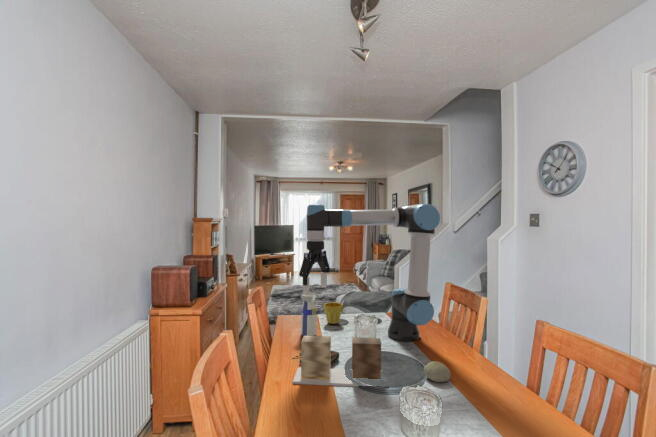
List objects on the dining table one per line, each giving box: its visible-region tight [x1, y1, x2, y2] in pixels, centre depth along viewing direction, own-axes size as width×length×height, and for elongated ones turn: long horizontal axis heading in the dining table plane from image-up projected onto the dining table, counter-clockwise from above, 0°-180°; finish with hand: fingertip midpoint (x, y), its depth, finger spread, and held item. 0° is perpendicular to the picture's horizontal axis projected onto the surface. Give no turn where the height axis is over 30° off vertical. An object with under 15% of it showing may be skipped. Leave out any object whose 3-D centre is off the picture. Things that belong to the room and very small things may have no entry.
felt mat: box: [292, 366, 359, 387], centre depth 119 cm, size 33×11×1 cm, turn 85°
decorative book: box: [291, 350, 340, 366], centre depth 134 cm, size 13×18×5 cm
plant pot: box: [323, 301, 344, 325], centre depth 185 cm, size 10×10×10 cm
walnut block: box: [351, 336, 382, 379], centre depth 119 cm, size 10×6×13 cm, turn 85°
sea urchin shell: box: [423, 360, 452, 383], centre depth 119 cm, size 9×8×8 cm
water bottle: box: [300, 284, 318, 337], centre depth 166 cm, size 8×8×25 cm
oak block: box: [300, 335, 332, 379], centre depth 120 cm, size 10×6×13 cm, turn 85°
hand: (315, 290), depth 143 cm, fingers open, 13 cm apart
